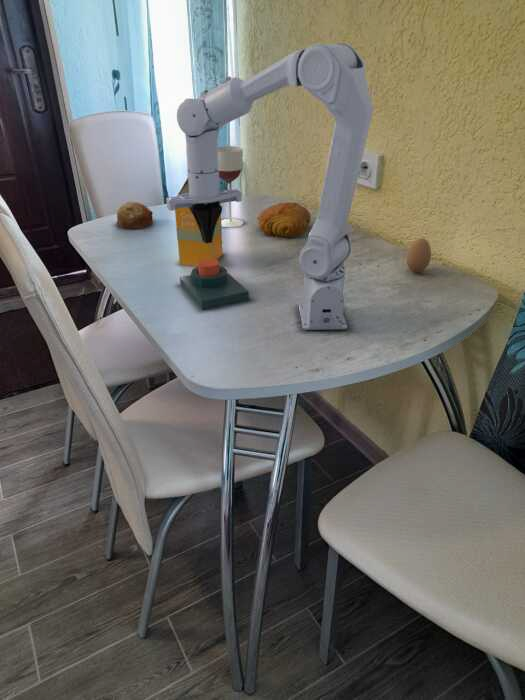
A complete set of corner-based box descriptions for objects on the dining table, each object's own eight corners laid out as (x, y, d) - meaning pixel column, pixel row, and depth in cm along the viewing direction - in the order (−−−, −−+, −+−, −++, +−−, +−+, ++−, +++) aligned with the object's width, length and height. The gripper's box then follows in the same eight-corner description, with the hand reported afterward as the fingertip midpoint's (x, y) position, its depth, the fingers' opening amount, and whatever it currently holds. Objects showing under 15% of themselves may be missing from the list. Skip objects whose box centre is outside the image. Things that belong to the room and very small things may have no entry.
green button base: (248, 300, 101) (248, 282, 99) (202, 310, 97) (200, 291, 95) (223, 277, 111) (223, 260, 109) (180, 285, 107) (178, 268, 105)
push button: (223, 275, 103) (222, 264, 102) (202, 278, 101) (202, 268, 100) (215, 267, 106) (214, 257, 105) (195, 271, 105) (194, 260, 103)
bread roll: (122, 232, 148) (106, 209, 143) (151, 213, 149) (136, 190, 144) (129, 242, 141) (113, 218, 136) (160, 222, 142) (145, 198, 137)
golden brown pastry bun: (313, 230, 145) (316, 202, 142) (303, 240, 131) (306, 209, 128) (264, 225, 148) (266, 197, 145) (250, 234, 134) (252, 203, 131)
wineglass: (211, 226, 142) (207, 151, 131) (222, 217, 149) (219, 145, 138) (238, 229, 140) (236, 152, 129) (248, 219, 147) (247, 147, 136)
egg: (399, 270, 115) (404, 236, 110) (416, 266, 117) (422, 232, 113) (415, 278, 111) (421, 243, 107) (432, 274, 113) (439, 239, 109)
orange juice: (223, 254, 123) (219, 169, 113) (210, 267, 116) (205, 177, 105) (193, 251, 125) (186, 167, 114) (178, 264, 118) (170, 175, 107)
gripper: (230, 162, 99) (232, 230, 106) (158, 169, 93) (166, 240, 101) (245, 169, 94) (246, 240, 101) (170, 177, 88) (177, 251, 95)
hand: (207, 241), depth 100 cm, fingers closed
